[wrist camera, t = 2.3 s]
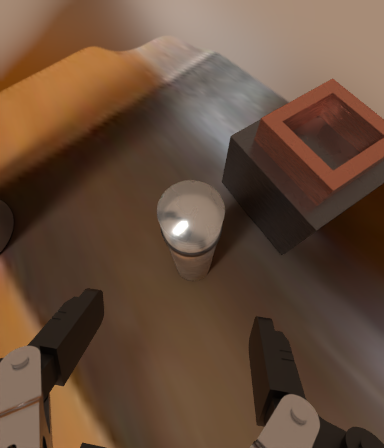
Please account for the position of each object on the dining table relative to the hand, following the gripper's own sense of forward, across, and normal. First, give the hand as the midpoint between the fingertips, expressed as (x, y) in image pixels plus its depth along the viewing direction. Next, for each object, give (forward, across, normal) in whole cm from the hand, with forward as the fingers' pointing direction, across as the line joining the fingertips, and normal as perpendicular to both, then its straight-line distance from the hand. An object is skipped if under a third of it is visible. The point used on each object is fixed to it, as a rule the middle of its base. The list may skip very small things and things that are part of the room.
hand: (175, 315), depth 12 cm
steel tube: (+12, 0, +5) cm, 13 cm away
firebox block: (+20, -10, -2) cm, 22 cm away
